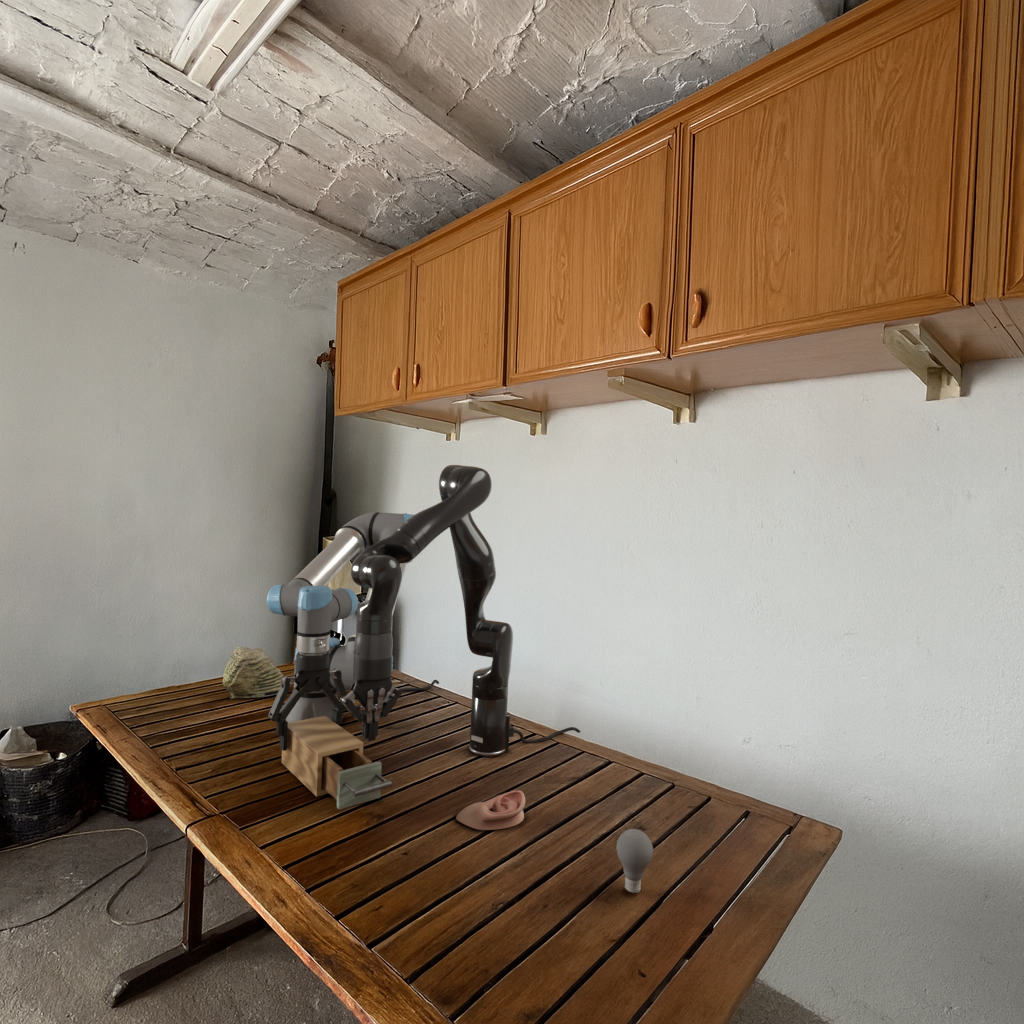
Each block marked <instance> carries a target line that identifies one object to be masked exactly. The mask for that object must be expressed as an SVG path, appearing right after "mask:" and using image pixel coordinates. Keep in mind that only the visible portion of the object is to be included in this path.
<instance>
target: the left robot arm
mask: <svg viewBox="0 0 1024 1024" xmlns="http://www.w3.org/2000/svg"><path fill="white" fill-rule="evenodd" d="M413 515H414V514H413V513H407V512H404V513H398V512H397V513H396V512H395V513H394V512H378V511H372V512H366V513H364V514H361V515H358V516H356V517H354V518H353V519H351V520H350V521H348V522H346V523H345V524H343V526H342V527H340V528H339V529H338V530H337V531H336V533H335V535H334V539H333V540H331V542H329V544H328V545H326V547H325V548H323V550H321V552H320V553H318V555H316V557H315V558H313V559H312V560H311V561H310V562H309V563H308V564H307V565H306V566H305V567H304V568H303V569H302V570H301V571H300V572H299V573H298V574H297V575H295V576H294V578H293V579H292V580H291V581H290V582H289V583H287V584H286V585H285V584H276V585H273V586H272V587H271V588H270V589H269V590H268V593H267V596H266V605H267V609H268V610H269V612H271V613H272V614H276V615H281V616H284V617H286V616H289V617H297V631H296V632H297V633H296V647H295V652H294V653H295V654H294V659H293V660H294V672H293V675H292V676H286V675H283V677H282V678H281V687H280V689H279V691H278V694H276V696H275V698H274V701H273V703H272V705H271V707H270V710H269V711H268V714H267V718H268V719H270V720H271V722H275V734H276V735H277V736H278V737H279V742H278V743H279V744H278V745H279V748H280V749H281V751H282V750H283V751H285V750H287V731H288V723H290V722H295V721H300V720H306V719H311V718H316V717H321V716H326V717H328V718H329V719H330V720H332V721H333V722H335V723H336V724H337V725H339V726H340V725H342V724H343V722H344V712H346V711H347V712H348V710H347V709H346V707H345V706H344V705H343V704H342V703H341V701H340V698H341V697H342V696H346V695H347V694H348V693H347V691H349V692H350V691H351V686H352V684H353V681H354V680H353V664H354V642H355V636H356V632H355V633H353V634H352V635H350V636H348V638H347V642H346V645H341V641H340V639H339V638H337V637H331V626H332V625H331V624H332V623H333V622H336V621H341V620H345V619H347V618H348V617H351V616H352V615H354V614H355V613H356V612H357V608H358V606H359V599H358V596H357V594H356V593H355V592H354V590H352V589H351V588H348V587H344V588H343V587H338V588H336V589H332V588H331V587H330V586H327V585H328V584H330V583H331V581H332V580H334V578H335V577H336V576H337V575H338V574H339V573H340V571H342V570H343V568H344V567H346V565H347V564H348V563H349V562H350V561H351V560H352V559H353V558H354V557H358V555H359V554H361V553H362V552H363V551H364V550H366V549H367V548H369V547H371V546H372V545H374V544H376V543H377V542H379V541H381V540H383V539H385V538H387V537H389V536H390V535H391V534H392V533H393V532H394V531H395V530H396V529H397V528H398V527H400V526H401V525H402V524H403V523H404V522H405V521H406V520H408V519H409V518H410V517H412V516H413ZM413 560H414V559H413ZM413 560H412V561H410V562H408V563H401V564H400V566H401V569H402V581H401V583H403V579H404V575H405V571H406V567H407V565H408V564H410V563H412V562H413ZM401 586H402V584H401V585H400V587H401ZM400 589H401V588H400ZM400 589H399V592H398V596H399V593H400ZM371 593H372V589H371V588H368V591H367V594H366V597H365V600H364V601H368V600H369V599H370V596H371ZM398 596H397V599H396V602H395V605H394V608H393V613H392V617H393V616H394V612H395V608H396V604H397V600H398ZM393 662H394V656H393V655H392V670H393V668H394V664H393ZM435 683H436V684H437V685H439V684H440V681H439V680H438V679H433V680H432V682H431V683H430V684H429V685H431V686H429V685H427V686H423V687H404V688H398V689H399V690H400V691H401V692H419V691H420V692H421V691H426V690H429V689H431V688H433V686H434V685H435ZM292 686H293V689H292V692H291V694H290V695H289V697H288V694H289V692H290V688H291V687H292ZM287 697H288V698H287ZM286 698H287V699H286ZM355 706H356V708H357V709H358V710H359V709H360V704H356V705H355Z"/></svg>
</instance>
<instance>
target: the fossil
mask: <svg viewBox="0 0 1024 1024" xmlns="http://www.w3.org/2000/svg"><path fill="white" fill-rule="evenodd" d="M222 676H223V677H222V685H223V687H224V688H225V690H226V691H228V693H229V698H230V699H250V698H264V697H271V696H275V695H276V696H277V694H278V691H279V689H280V687H281V678H282V677H283V676H284V674H283V673H282V672H281V669H279V668H278V667H277V665H276V663H275V662H274V660H273V659H272V658H271V657H270V656H269V655H268V654H267V653H266V652H265V650H264V649H263V648H260V647H258V648H251V647H247V646H246V647H245V646H238V647H237V648H236V649H235V650H233V651H232V653H231V656H230V657H229V659H228V660H227V663H226V666H225V668H224V671H223V675H222Z"/></svg>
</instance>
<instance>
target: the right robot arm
mask: <svg viewBox="0 0 1024 1024" xmlns="http://www.w3.org/2000/svg"><path fill="white" fill-rule="evenodd" d="M492 486H493V483H492V477H491V475H490V474H489V472H488V471H487V470H485V469H484V468H482V467H478V466H471V465H461V464H449V465H447V466H445V467H444V468H443V469H442V471H441V472H440V476H439V479H438V490H439V495H440V496H439V497H440V500H441V501H440V502H438V503H435V504H434V505H432V506H430V507H428V508H425V509H423V510H421V511H419V512H417V513H415V514H413V516H412V517H410V518H409V519H408V520H406V521H405V522H404V523H403V524H402V525H401V526H400V527H398V528H397V529H396V530H395V531H394V532H393V533H392V534H391V535H390V536H389V537H387V538H385V539H383V540H381V541H379V542H377V543H376V544H374V545H372V546H371V547H369V548H367V549H366V550H364V551H363V552H362V553H361V554H359V555H358V556H356V558H354V560H353V562H352V564H351V566H350V567H351V568H350V577H351V579H352V581H353V582H354V583H355V585H357V586H359V587H362V588H367V589H369V588H371V589H372V593H371V596H370V599H369V600H368V601H365V600H364V601H361V602H359V603H358V607H357V610H356V621H355V622H356V623H355V624H356V625H355V633H356V636H355V642H354V664H353V680H354V681H353V684H352V686H351V691H349V692H348V693H347V695H346V696H342V697H341V698H340V697H339V702H340V703H342V704H343V705H344V706H345V707H346V709H347V712H348V713H349V714H350V715H351V716H352V718H353V719H355V720H357V721H358V722H359V723H361V737H362V738H363V739H364V740H365V741H366V742H372V741H375V740H376V737H378V736H379V735H378V734H379V721H380V720H381V719H382V718H386V717H388V716H389V714H390V712H391V711H392V710H393V708H394V706H395V705H396V703H397V701H398V700H399V699H400V697H401V695H402V692H403V691H402V692H401V691H400V690H399V689H400V688H397V687H395V686H394V685H393V680H392V679H391V677H392V672H393V669H392V664H393V663H392V656H393V648H394V647H393V646H394V645H393V644H394V643H393V641H394V640H393V616H392V613H393V614H394V612H393V608H394V605H395V602H396V603H397V601H396V599H397V600H398V597H397V596H399V594H398V592H399V593H400V590H399V589H401V586H402V582H403V579H402V569H401V566H400V564H401V563H408V562H410V561H412V560H415V559H416V558H417V557H418V556H419V555H420V554H421V553H423V551H424V550H425V549H426V548H427V547H428V546H429V545H430V544H431V543H432V542H433V541H434V540H435V539H436V538H438V537H439V536H440V535H441V534H442V533H443V532H445V531H446V530H448V529H449V532H450V537H451V542H452V545H453V550H454V557H455V564H456V570H457V575H458V579H459V584H460V589H461V594H462V602H463V606H464V618H465V629H466V630H465V631H466V639H467V645H468V649H469V650H470V652H471V653H472V654H473V655H477V656H480V657H484V658H492V661H491V665H490V666H486V667H482V668H478V669H476V670H475V671H473V673H472V685H471V708H470V709H471V710H470V731H469V733H470V734H469V745H468V750H469V751H470V753H472V754H473V755H476V756H479V757H487V758H490V757H491V758H493V757H498V756H502V755H503V754H505V753H509V752H510V751H509V750H510V749H509V748H510V738H512V737H514V734H517V735H518V736H519V738H520V741H521V742H522V743H524V744H536V743H540V742H544V741H549V740H550V739H551V740H552V738H554V737H556V736H558V735H563V734H564V733H567V732H570V731H573V732H576V733H578V734H580V733H581V730H580V729H579V728H577V727H576V726H575V727H574V726H570V727H566V728H562V729H559V730H557V731H555V732H552V734H549V735H547V736H543V737H538V738H535V739H525V738H524V734H523V733H522V732H521V731H520V730H518V729H515V728H514V726H512V725H511V715H510V713H508V702H509V700H508V699H509V697H508V696H509V682H510V681H509V680H510V674H511V668H512V654H513V646H514V632H513V631H514V630H513V628H512V625H511V624H510V623H508V622H504V621H498V620H490V619H486V617H485V611H484V605H485V602H486V599H487V597H488V595H489V594H490V592H491V590H492V588H493V586H494V584H495V581H496V579H497V570H496V563H495V557H494V551H493V549H492V547H491V545H490V543H489V541H488V540H487V538H486V537H485V535H484V534H483V533H482V531H481V530H480V528H479V527H478V525H477V524H476V522H475V520H474V518H473V516H472V513H473V511H475V510H476V509H478V508H480V507H481V506H482V505H483V504H484V503H485V502H486V501H487V500H488V499H489V497H490V495H491V492H492ZM412 562H413V561H412ZM410 563H411V562H410ZM408 564H409V563H408ZM401 581H402V582H401ZM400 585H401V586H400ZM395 606H396V605H395ZM394 609H395V608H394ZM356 700H357V702H358V703H359V705H360V708H358V709H357V708H356V706H357V705H355V704H356ZM359 709H360V710H359Z"/></svg>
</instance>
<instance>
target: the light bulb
mask: <svg viewBox="0 0 1024 1024" xmlns="http://www.w3.org/2000/svg"><path fill="white" fill-rule="evenodd" d="M615 849H616V854H617V857H618V859H619V861H620V863H621V865H622V867H623V873H624V874H623V875H624V876H625V878H624V888H625V890H627V891H628V892H630V893H634V894H635V893H639V892H640V891H641V889H642V887H641V886H642V879H643V877H644V875H645V871H646V868H647V867H648V866H649V864H650V863H651V861H652V859H653V855H654V847H653V843H652V841H651V838H649V836H648V835H647V834H646V833H645V832H643V831H642V830H641V829H636V828H629V829H627V830H625V831H623V832H622V833H621V834H620V835H619V837H618V839H617V841H616V847H615Z"/></svg>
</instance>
